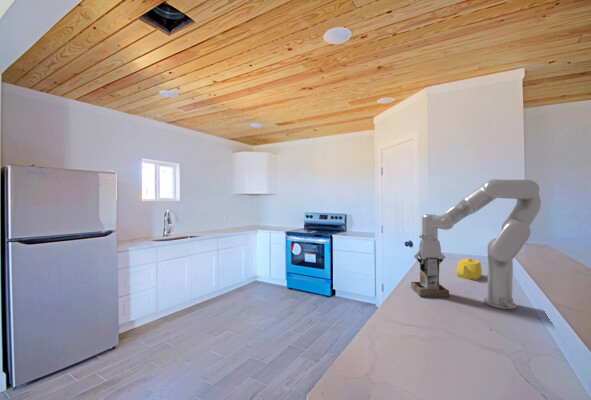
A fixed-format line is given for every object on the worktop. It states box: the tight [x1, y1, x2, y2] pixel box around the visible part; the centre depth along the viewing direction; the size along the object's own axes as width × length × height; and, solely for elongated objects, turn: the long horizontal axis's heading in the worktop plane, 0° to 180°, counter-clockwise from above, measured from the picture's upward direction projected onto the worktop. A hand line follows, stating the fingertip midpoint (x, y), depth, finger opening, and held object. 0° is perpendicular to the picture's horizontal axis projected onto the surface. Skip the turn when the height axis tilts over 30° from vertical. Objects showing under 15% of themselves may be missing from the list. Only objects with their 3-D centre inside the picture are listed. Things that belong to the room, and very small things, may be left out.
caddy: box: [410, 281, 450, 299], centre depth 148 cm, size 14×14×4 cm
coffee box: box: [419, 257, 440, 290], centre depth 148 cm, size 9×6×16 cm
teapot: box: [456, 257, 483, 281], centre depth 176 cm, size 20×12×12 cm, turn 134°
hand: (429, 270), depth 148 cm, fingers closed on coffee box, 6 cm apart
